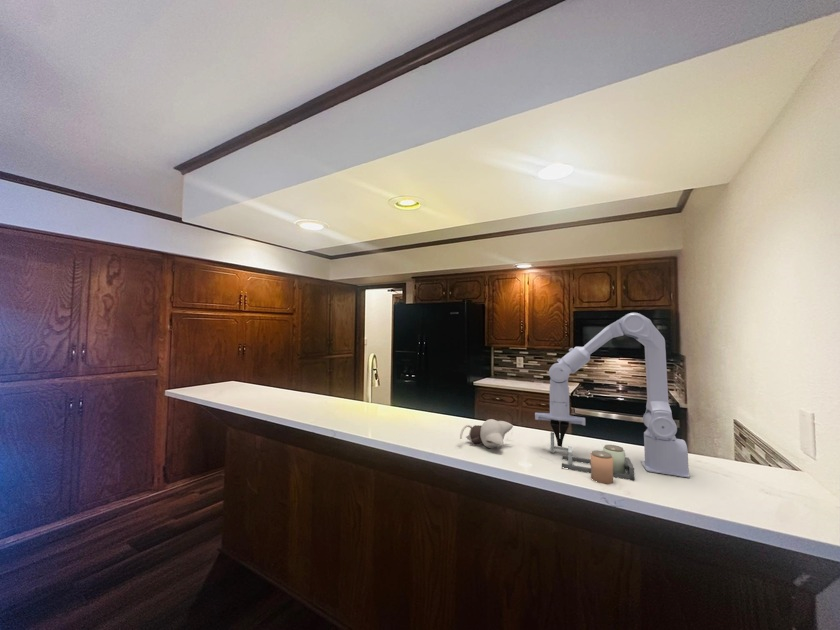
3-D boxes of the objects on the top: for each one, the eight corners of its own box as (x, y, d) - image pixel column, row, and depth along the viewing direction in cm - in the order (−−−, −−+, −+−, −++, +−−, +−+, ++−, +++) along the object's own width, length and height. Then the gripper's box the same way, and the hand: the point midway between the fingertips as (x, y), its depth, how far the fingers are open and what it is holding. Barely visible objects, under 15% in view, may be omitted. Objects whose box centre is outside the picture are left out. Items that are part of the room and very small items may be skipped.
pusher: (572, 454, 101) (571, 434, 102) (572, 467, 90) (572, 446, 90) (550, 450, 104) (550, 432, 104) (548, 463, 93) (548, 442, 93)
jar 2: (623, 470, 90) (623, 446, 90) (626, 477, 85) (625, 451, 86) (602, 466, 92) (602, 443, 92) (604, 473, 87) (604, 448, 88)
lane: (629, 468, 91) (628, 457, 91) (634, 480, 83) (634, 468, 83) (562, 458, 98) (562, 448, 98) (561, 468, 90) (561, 457, 90)
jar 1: (612, 477, 84) (611, 452, 85) (614, 485, 80) (613, 458, 80) (590, 474, 86) (590, 449, 87) (591, 481, 82) (591, 454, 82)
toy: (462, 459, 107) (504, 459, 98) (453, 435, 107) (494, 433, 98) (478, 435, 118) (517, 434, 109) (469, 413, 117) (508, 410, 108)
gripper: (584, 401, 104) (585, 445, 103) (536, 397, 110) (536, 438, 109) (585, 405, 97) (586, 452, 96) (534, 400, 103) (534, 444, 102)
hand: (559, 445), depth 102 cm, fingers closed
